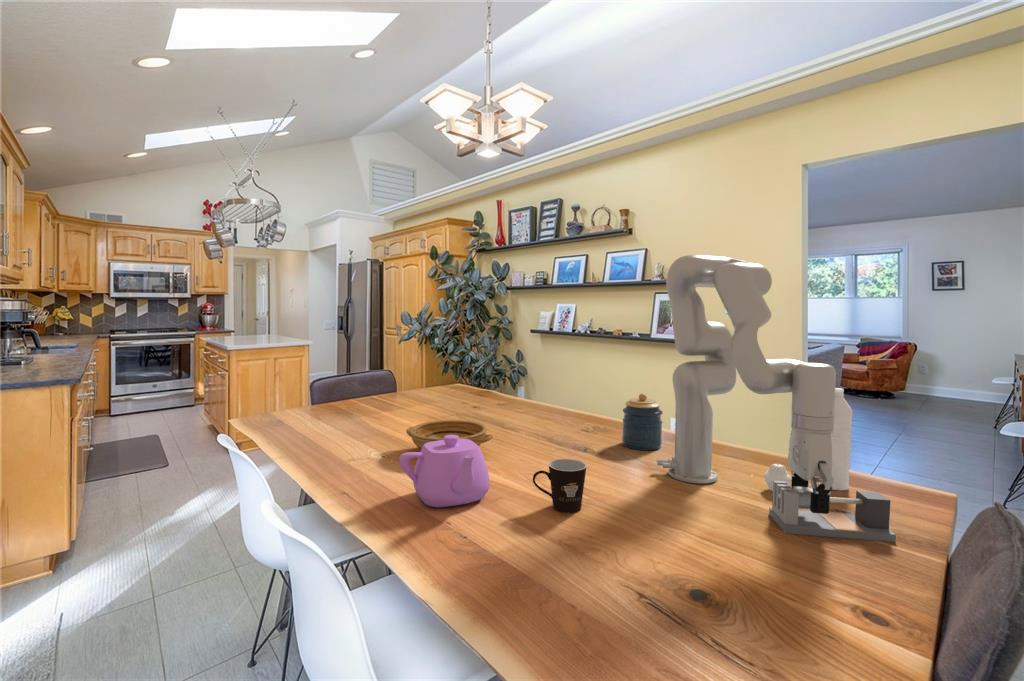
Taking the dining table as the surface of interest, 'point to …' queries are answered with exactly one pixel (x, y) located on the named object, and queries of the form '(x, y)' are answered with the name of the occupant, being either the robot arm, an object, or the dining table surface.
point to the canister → (642, 424)
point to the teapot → (448, 472)
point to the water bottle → (841, 442)
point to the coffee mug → (565, 484)
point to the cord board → (833, 516)
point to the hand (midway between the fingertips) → (808, 503)
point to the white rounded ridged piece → (776, 475)
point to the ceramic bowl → (448, 431)
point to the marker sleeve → (803, 496)
